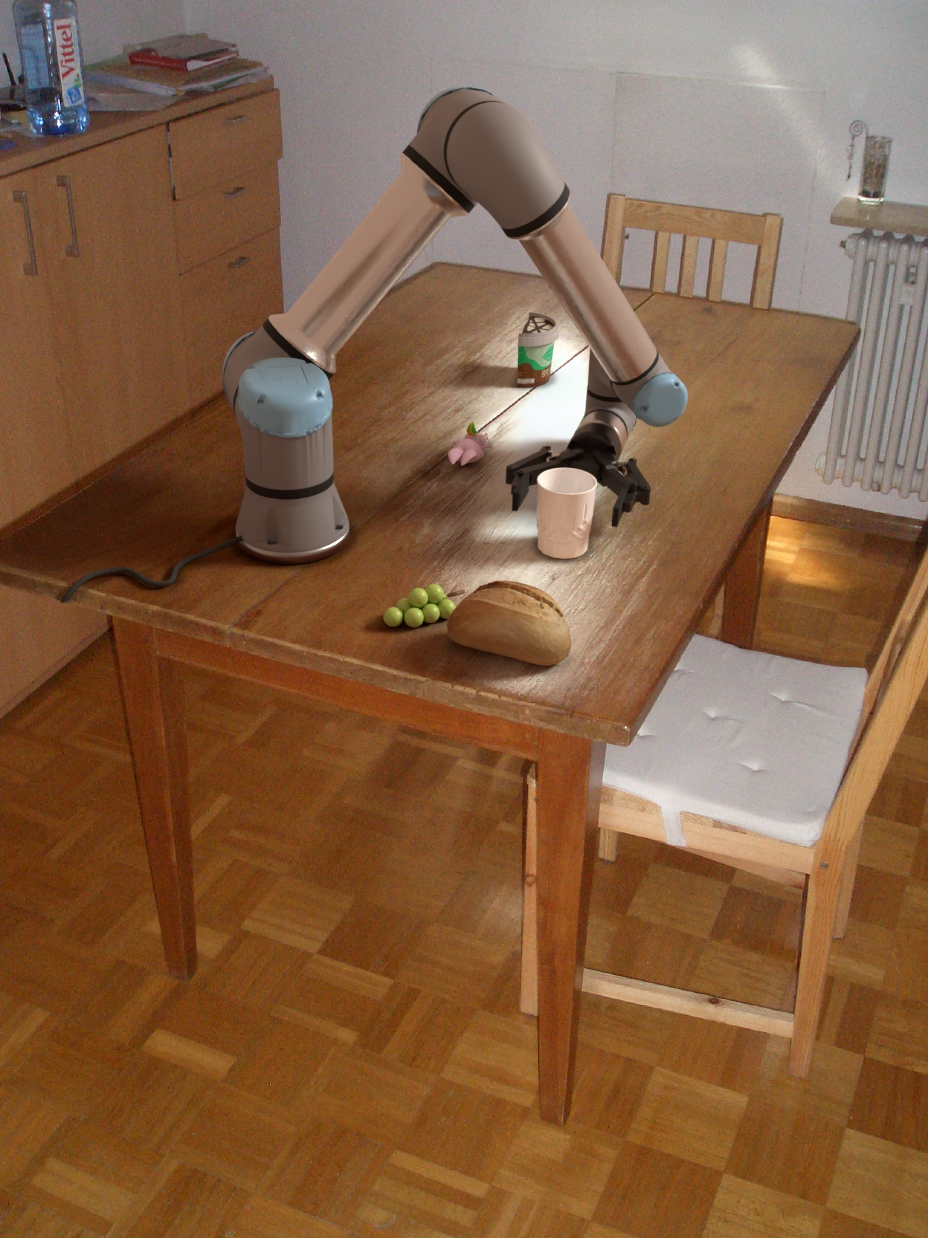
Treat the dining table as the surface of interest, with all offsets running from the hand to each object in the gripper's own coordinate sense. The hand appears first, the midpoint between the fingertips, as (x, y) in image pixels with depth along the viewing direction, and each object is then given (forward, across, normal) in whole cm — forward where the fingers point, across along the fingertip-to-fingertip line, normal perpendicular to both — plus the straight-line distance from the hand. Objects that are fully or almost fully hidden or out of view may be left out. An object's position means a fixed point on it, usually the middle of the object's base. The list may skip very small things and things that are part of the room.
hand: (564, 509), depth 168 cm
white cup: (0, 0, -6) cm, 6 cm away
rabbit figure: (-22, +20, -6) cm, 31 cm away
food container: (-59, +18, -6) cm, 61 cm away
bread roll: (+26, +1, -6) cm, 27 cm away
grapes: (+23, +13, -6) cm, 27 cm away
